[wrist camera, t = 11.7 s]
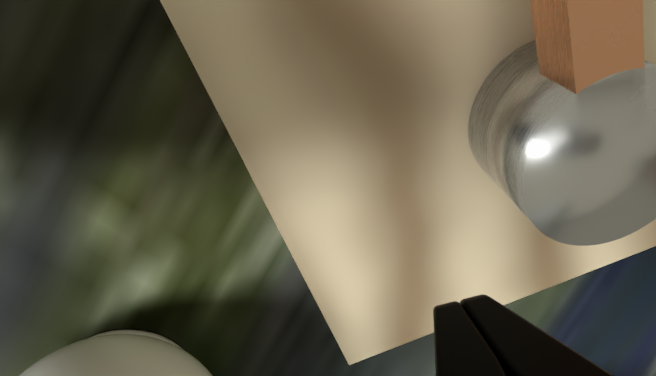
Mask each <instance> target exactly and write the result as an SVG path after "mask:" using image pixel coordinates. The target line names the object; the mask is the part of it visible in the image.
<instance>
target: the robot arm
mask: <svg viewBox="0 0 656 376" xmlns="http://www.w3.org/2000/svg"><path fill="white" fill-rule="evenodd" d="M433 321H434V342H435V363H436V376H613V375H612V374H610V373H609V372H607V371H605V370H604V369H602V368H601V367H599V366H598V365H596V364H594V363H593V362H591V361H590V360H588V359H587V358H585V357H583V356H582V355H580V354H579V353H577V352H576V351H574V350H573V349H571V348H569V347H568V346H566V345H565V344H563V343H562V342H560V341H558V340H557V339H555V338H554V337H552V336H551V335H549V334H547V333H546V332H544V331H543V330H541V329H540V328H538V327H536V326H535V325H533V324H532V323H530V322H529V321H527V320H525V319H524V318H522V317H521V316H519V315H518V314H516V313H515V312H513V311H511V310H510V309H508V308H507V307H505V306H504V305H502V304H500V303H499V302H497V301H496V300H494V299H493V298H491V297H489V296H487V295H484V294H482V295H477V296H473V297H469V298H465V299H462V300H461V301H460V303H459V302H457V301H453V302H449V303H445V304H441V305H437V306H435V307H434V309H433Z"/></svg>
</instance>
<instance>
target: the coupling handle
mask: <svg viewBox="0 0 656 376" xmlns="http://www.w3.org/2000/svg"><path fill="white" fill-rule="evenodd" d="M530 4H531V12H532V19H533V26H534V34H535V40H534V41H532V42H529V43H527V44H525V45H523V46H522V47H520V48H518V49H517V50H515V51H513V52H512V53H511V54H509V55H508V56H507V57H506V58H504V59H503V60H502V61H501V62H500V63H499V64H498V65H497V66H496V67H495V68H494V69H493V70H492V72H491V73H490V74H489V75H488V76H487V78H486V79H485V81H484V82H483V84H482V85H481V87H480V89H479V91H478V93H477V95H476V97H475V100H474V102H473V105H472V108H471V112H470V116H469V123H468V137H469V144H470V148H471V151H472V154H473V156H474V158H475V160H476V161H477V163H478V164H479V166H480V167H481V168H482V169H483V170H484V171H485V173H486V174H487V175H488V176H489V177H490V178H491V179H492V180H493V181H494V182H495V183H496V184H497V186H498V187H499V188H500V189H501V190H502V191H503V192H504V193H505V194H506V195H507V196H508V197H509V199H510V200H511V201H512V202H513V203H514V204H515V205H516V206H517V207H518V208H519V209H520V210H521V212H522V213H523V214H524V215H525V216H526V217H527V218H528V219H529V220H530V221H531V222H532V223H533V225H534V226H535V227H536V228H537V229H538V230H539V231H540V232H541V233H543V234H544V235H546V236H547V237H549V238H551V239H553V240H555V241H557V242H561V243H564V244H569V245H576V246H589V245H598V244H603V243H608V242H611V241H614V240H617V239H620V238H623V237H625V236H627V235H630V234H632V233H634V232H636V231H637V230H639V229H641V228H643V227H644V226H646V225H647V224H649V223H651V222H652V221H653V220H655V219H656V65H655V64H652V63H650V62H647V61H645V60H644V29H643V0H530Z"/></svg>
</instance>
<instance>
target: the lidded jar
mask: <svg viewBox="0 0 656 376" xmlns="http://www.w3.org/2000/svg"><path fill="white" fill-rule="evenodd" d="M19 376H212V374H211V373H210V372H209V371H208V370H207V369H206V368H205V367H204V366H203V365H202V364H201V363H200V362H199V361H198V360H197V359H196V358H194V357H193V356H191V355H190V354H189V353H187V352H186V351H184V350H183V349H182V348H181V347H180V346H179V345H177V344H176V343H174V342H173V341H171V340H169V339H167V338H165V337H164V336H161V335H158V334H155V333H151V332H147V331H141V330H114V331H108V332H103V333H99V334H97V335H94V336H91V337H89V338H87V339H84V340H81V341H77V342H75V343H72V344H69V345H67V346H64V347H62V348H60V349H58V350H56V351H54V352H52V353H51V354H49V355H47V356H45V357H44V358H42V359H40V360H38V361H37V362H36V363H34V364H33V365H32V366H30V367H29V368H28V369H26V370H25V371H24V372H23V373H22V374H21V375H19Z"/></svg>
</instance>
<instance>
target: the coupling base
mask: <svg viewBox="0 0 656 376" xmlns="http://www.w3.org/2000/svg"><path fill="white" fill-rule="evenodd" d="M160 2H161V3H162V5H163V7H164V9H165V11H166V13H167V15H168V17H169V19H170V21H171V23H172V25H173V27H174V29H175V30H176V32H177V34H178V36H179V38H180V40H181V42H182V44H183V46H184V48H185V50H186V52H187V54H188V56H189V57H190V59H191V61H192V63H193V65H194V67H195V69H196V71H197V73H198V75H199V77H200V79H201V81H202V83H203V84H204V86H205V88H206V90H207V92H208V94H209V96H210V98H211V100H212V102H213V104H214V106H215V108H216V110H217V111H218V113H219V115H220V117H221V119H222V121H223V123H224V125H225V127H226V129H227V131H228V133H229V135H230V137H231V138H232V140H233V142H234V144H235V146H236V148H237V150H238V152H239V154H240V156H241V158H242V160H243V162H244V164H245V165H246V167H247V169H248V171H249V173H250V175H251V177H252V179H253V181H254V183H255V185H256V187H257V189H258V191H259V192H260V194H261V196H262V198H263V200H264V202H265V204H266V206H267V208H268V210H269V212H270V214H271V216H272V218H273V219H274V221H275V223H276V225H277V227H278V229H279V231H280V233H281V235H282V237H283V239H284V241H285V243H286V245H287V246H288V248H289V250H290V252H291V254H292V256H293V258H294V260H295V262H296V264H297V266H298V268H299V270H300V272H301V273H302V275H303V277H304V279H305V281H306V283H307V285H308V287H309V289H310V291H311V293H312V295H313V297H314V299H315V300H316V302H317V304H318V306H319V308H320V310H321V312H322V314H323V316H324V318H325V320H326V322H327V324H328V326H329V328H330V329H331V331H332V333H333V335H334V337H335V339H336V341H337V343H338V345H339V347H340V349H341V351H342V353H343V355H344V356H345V358H346V360H347V362H348V364H349V365H351V364H354V363H356V362H359V361H361V360H364V359H366V358H369V357H372V356H374V355H377V354H379V353H382V352H384V351H387V350H390V349H392V348H395V347H397V346H400V345H402V344H405V343H408V342H410V341H413V340H415V339H418V338H420V337H423V336H426V335H428V334H431V333H433V332H434V321H433V309H434V307H435V306H437V305H441V304H445V303H449V302H453V301H457V302H459V303H460V301H461V300H462V299H465V298H469V297H473V296H477V295H482V294H484V295H487V296H489V297H491V298H493V299H494V300H496V301H497V302H499V303H500V304H502V305H505V304H508V303H510V302H513V301H515V300H518V299H521V298H523V297H526V296H528V295H531V294H533V293H536V292H539V291H541V290H544V289H546V288H549V287H551V286H554V285H557V284H559V283H562V282H564V281H567V280H569V279H572V278H574V277H577V276H580V275H582V274H585V273H587V272H590V271H592V270H595V269H598V268H600V267H603V266H605V265H608V264H610V263H613V262H616V261H618V260H621V259H623V258H626V257H628V256H631V255H634V254H636V253H639V252H641V251H644V250H646V249H649V248H652V247H654V246H656V219H655V220H653V221H652V222H651V223H649V224H647V225H646V226H644V227H643V228H641V229H639V230H637V231H636V232H634V233H632V234H630V235H627V236H625V237H623V238H620V239H617V240H614V241H611V242H608V243H603V244H598V245H589V246H576V245H569V244H564V243H561V242H557V241H555V240H553V239H551V238H549V237H547V236H546V235H544V234H543V233H541V232H540V231H539V230H538V229H537V228H536V227H535V226H534V225H533V223H532V222H531V221H530V220H529V219H528V218H527V217H526V216H525V215H524V214H523V213H522V212H521V210H520V209H519V208H518V207H517V206H516V205H515V204H514V203H513V202H512V201H511V200H510V199H509V197H508V196H507V195H506V194H505V193H504V192H503V191H502V190H501V189H500V188H499V187H498V186H497V184H496V183H495V182H494V181H493V180H492V179H491V178H490V177H489V176H488V175H487V174H486V173H485V171H484V170H483V169H482V168H481V167H480V166H479V164H478V163H477V161H476V160H475V158H474V156H473V154H472V151H471V148H470V144H469V137H468V123H469V116H470V112H471V108H472V105H473V102H474V100H475V97H476V95H477V93H478V91H479V89H480V87H481V85H482V84H483V82H484V81H485V79H486V78H487V76H488V75H489V74H490V73H491V72H492V70H493V69H494V68H495V67H496V66H497V65H498V64H499V63H500V62H501V61H502V60H503V59H504V58H506V57H507V56H508V55H509V54H511V53H512V52H513V51H515V50H517V49H518V48H520V47H522V46H523V45H525V44H527V43H529V42H532V41H534V40H535V34H534V26H533V19H532V12H531V4H530V0H160ZM643 29H644V60H645V61H647V62H650V63H652V64H655V65H656V0H643Z"/></svg>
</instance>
